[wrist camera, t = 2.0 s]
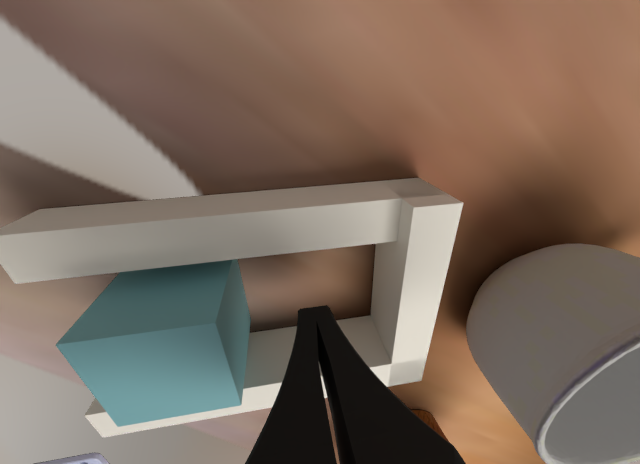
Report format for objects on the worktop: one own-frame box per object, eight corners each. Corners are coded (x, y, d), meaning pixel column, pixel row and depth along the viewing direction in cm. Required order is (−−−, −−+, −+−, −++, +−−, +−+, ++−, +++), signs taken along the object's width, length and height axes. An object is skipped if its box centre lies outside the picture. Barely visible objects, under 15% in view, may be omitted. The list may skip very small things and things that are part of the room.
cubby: (135, 372, 16) (102, 437, 13) (39, 209, 11) (-52, 253, 8) (396, 332, 18) (421, 380, 15) (418, 177, 13) (463, 203, 10)
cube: (163, 331, 15) (117, 427, 11) (131, 259, 13) (55, 344, 8) (250, 319, 16) (241, 405, 11) (235, 248, 13) (215, 322, 9)
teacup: (433, 355, 20) (518, 494, 13) (454, 233, 15) (612, 354, 8) (593, 322, 21) (750, 433, 14) (664, 198, 16) (963, 276, 9)
